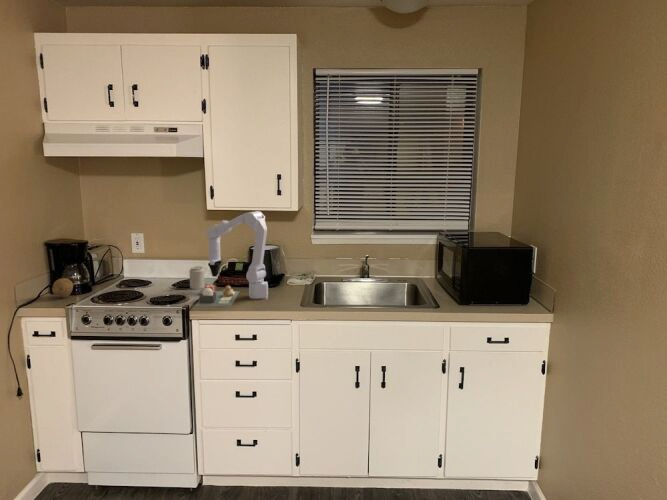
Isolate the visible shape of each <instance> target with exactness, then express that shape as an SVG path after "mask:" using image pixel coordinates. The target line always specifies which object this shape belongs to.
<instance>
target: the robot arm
mask: <svg viewBox="0 0 667 500" xmlns="http://www.w3.org/2000/svg"><path fill="white" fill-rule="evenodd" d="M241 224H245V225H247V226H248V227H250V228H251V229H252V230H253V231H254V232H255V234H254V235H255V236H254V244H253V252H252V259H251V263H250V265H249V266H248V270H247V272H246V275H245V277H246V280H247V281H248V298H249V299H252V300H253V299H254V300H259V299H266V301H267V300H268V298H269V284H268V283H269V282H268V281H264V280H265V279H264V278H265V277H266V276H267V271H266V266H265V264H264V257H265V250H266V249H265V248H266V242H267V234H268V227H267V223H266V216H265V215H264V214H263V212H261V211H260V210H255V211H250V212H248V211H247V212H245V213H242V214H241V215H238V216H236V217H235V218H233V219H231V220H221V221H220V223H218V224H214V226H213V227H212V226H208V228H207V229H206V231H205V234H206V237H207V238H208V257H207V258H206V260H207V261H209V262H208V267H209V270H210V273H211V276H212V277H213V278H214V277H217V276H218V275H219V272H220V266H221V264H222V263H223V262H222V261H221V260H222V257H221V237H222V236H223V235H225V234H227V233H229V232H231V231H232V229H233V228H234V227H236V226H239V225H241Z"/></svg>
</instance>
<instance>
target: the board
mask: <svg viewBox="0 0 667 500" xmlns="http://www.w3.org/2000/svg"><path fill="white" fill-rule="evenodd" d="M239 293H240V291H238V290H235V291H234V290H233V296H232V297H224V296H223V290H214V292H213V296H203V291H202V292H201V294H199V299H198V301H197V302H196V303H195V304H194V306H195V307H231V306H232V305H233V303H234V302H235V300H236V299H237V297H238V296H239Z"/></svg>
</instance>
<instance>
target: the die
mask: <svg viewBox="0 0 667 500" xmlns="http://www.w3.org/2000/svg"><path fill="white" fill-rule="evenodd" d="M205 288H211V289H212V290H213V292H214V291H215V285H214V284H209V285H208V284H206V285H204V289H205Z"/></svg>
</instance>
